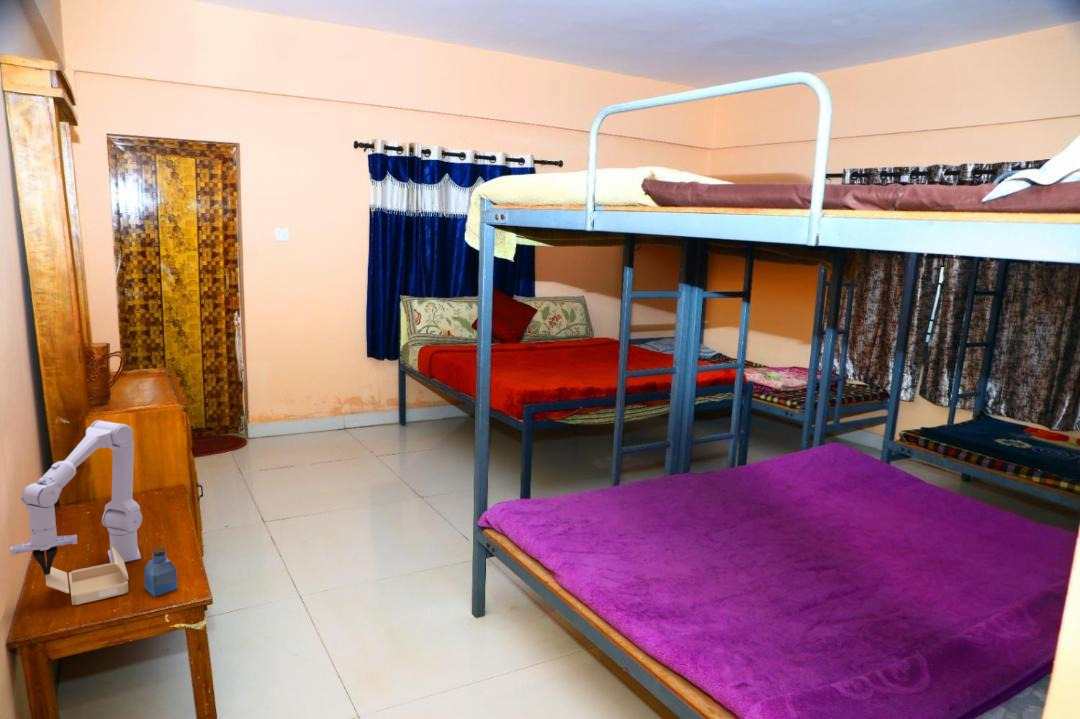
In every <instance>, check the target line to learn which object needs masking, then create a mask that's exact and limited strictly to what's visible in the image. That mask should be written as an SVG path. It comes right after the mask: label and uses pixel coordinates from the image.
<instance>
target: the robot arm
mask: <svg viewBox="0 0 1080 719" xmlns="http://www.w3.org/2000/svg"><path fill="white" fill-rule="evenodd" d="M133 436H134V429H133V428H132V427H131V426H129V425H128V424H127V423H126V424H125V423H119V422H118V423H117V422H111V421H105V420H101V419H98V420H94V422H92V423H91V424H90V425H89V427H88V428H86V430H85V436H84V437H83V438H82V439H81V441H80V442H79V443H78V444H77V446H76V447H75V448H74V449H73V450H72V451H71V452H70V454H69V455H68V456H67V457H66V458H65V459H64V460H58V461H56V462H54V463H53V464H52V465H51V467H50V468H49V469H48V470H47V471H46V472H45V473H44V474H43V475H42V476H41V477H40V478H39V479H38V480H37V481H36V482H33V483H30V484H29V485H27V486H26V487H25V488H24V490H23V491H22V494H21V496H20V501H21V502H22V503H23V504H24V505H25V508H26V509H25V510H27V515H28V521H29V522H28V524H29V535H30V541H26V542H23V543H20V544H16V545H13V546H10V556H11V557H13V556H17V555H18V554H24V553H29V552H32V556H33V558H34V559H35V560H36V561H37V563H38V564H39V565H40V567H41V570H42V572H43V576H46V575H47V574H50V570H51V567H52V566H53V565H52V564H53V561H54V559H55V558H56V555H57V553H58V547H61V546H66V545H71V544H72V545H77V544H78V535H77V534H70V535H58V534H57V524H56V512H55V511H56V510H55V504H56V503H57V502H58V500H59V498H60V495H61V493H62V491H63V488H64V487H65V486H67V484H68V483H69V482H70V481H71V480H72V479H73V478H74V477H75V475H76V474H77V467H78V466H80V465H81V464H82V463H83V462H84V461H85V460H87V459H88V458H89V457H90V456H91V455H92V454H93V453H94V452H96V450H98V449H103V448H105V449H106V448H108V449H110V450H112V467H111V468H112V472H111V500H110V501H108V503H106V504H105V505H104V512H103V514H102V517H101V524H102V525H103V526H104V527H105V528H106V529H107V530H106V531H108V533H109V549H108V550H107V555H108V558H109V559H108V560H109V563H113V562H115V559H114V555H113V551H112V546H113V547H114V548H115V550H116V551H117V552H118V554H119V555H120V556H121V558H122V559H123V560H124V563H127V562H133V561H136V560H141V558H142V556H141V553H140V550H139V545H138V530H139V528H140V527H141V525H142V523H143V522H142V521H143V514H142V513H141V506H140V505H139V504H138V502H137V501H136V500H134V499H133V498H134V497H133V493H134V492H133V490H134V463H135V462H134V461H135V460H134V456H135V455H134V453H135V441H134V437H133ZM46 565H47V567H46Z"/></svg>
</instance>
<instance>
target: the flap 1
mask: <svg viewBox="0 0 1080 719" xmlns="http://www.w3.org/2000/svg"><path fill="white" fill-rule="evenodd" d="M46 567H47V564H46ZM45 586H46V587H49V588H52V589H54V590H57V591H60V592H63V593H64V594H65V593H66V594H69V593H70V585H69V577H68V573H67V572H65V571H63V570H60V569H58V568H56V567H53V566H51V570H50V574H47V575H45Z"/></svg>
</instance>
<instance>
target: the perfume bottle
mask: <svg viewBox="0 0 1080 719" xmlns="http://www.w3.org/2000/svg"><path fill="white" fill-rule="evenodd" d="M143 571H144V572H143V574H144V589H145V590H146V591H148V593H150V595H152V596H153V597H154V598H155V597H158V596H160V595H164V594H166V593H169V592H171V591H175V590H177V589H178V579H177V578H178V573H177V567H176V566H175V565H174V564H173V563H172V561H171V560H170V559H168V558H167V552H166V548H165V547H164V546H163V547H162V546H161V547H160V546H159V547H157V548H154V549H153V550H152V559H151V560H150V559H149V561H147V564H146V565H145V567H144V568H143Z"/></svg>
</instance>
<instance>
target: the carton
mask: <svg viewBox="0 0 1080 719" xmlns="http://www.w3.org/2000/svg"><path fill="white" fill-rule="evenodd" d="M68 585H69V593H70V598H71V605H72V606H78V605H82V604H86V603H91V602H96V601H99V600H104V599H108V598H111V597H116V596H120V595H125V594H128V593H129V582H128V580H127V579H126V577H125V576H124V575H123V573H122V572H121V571H120V569H119V568H118V567H117V565H116V563H115V562H113V563H110V562H109V563H104V564H100V565H99V564H98V565H93V566H89V567H86V568H79V569H74V570H71V572H68Z"/></svg>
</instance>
